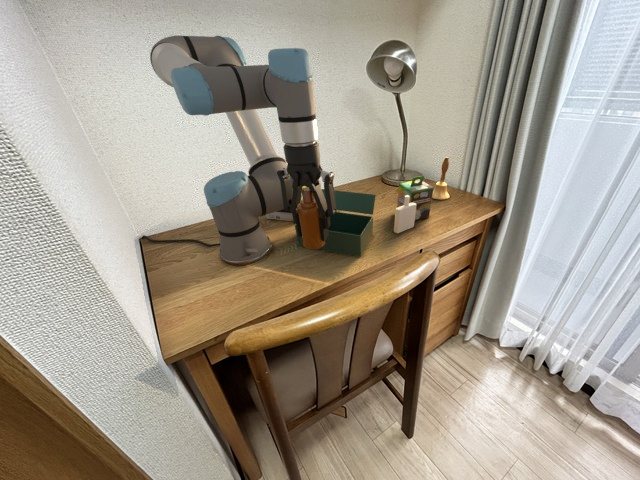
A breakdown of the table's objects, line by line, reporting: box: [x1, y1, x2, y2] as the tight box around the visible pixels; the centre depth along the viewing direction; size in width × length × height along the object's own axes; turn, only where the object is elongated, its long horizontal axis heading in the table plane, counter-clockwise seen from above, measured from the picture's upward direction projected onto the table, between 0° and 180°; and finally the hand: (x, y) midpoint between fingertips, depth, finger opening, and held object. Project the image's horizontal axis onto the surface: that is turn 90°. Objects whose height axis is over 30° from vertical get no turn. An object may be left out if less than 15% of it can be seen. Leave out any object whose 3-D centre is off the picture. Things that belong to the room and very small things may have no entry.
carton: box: [294, 211, 374, 257], centre depth 83 cm, size 21×13×7 cm, turn 70°
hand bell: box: [432, 156, 450, 201], centre depth 107 cm, size 8×8×16 cm
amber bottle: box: [297, 187, 326, 250], centre depth 66 cm, size 6×6×15 cm
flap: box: [314, 188, 377, 216], centre depth 85 cm, size 21×6×1 cm
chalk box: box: [396, 175, 435, 221], centre depth 94 cm, size 9×9×15 cm
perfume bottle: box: [393, 195, 416, 234], centre depth 86 cm, size 8×2×12 cm, turn 124°
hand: (313, 236), depth 69 cm, fingers closed on amber bottle, 6 cm apart
